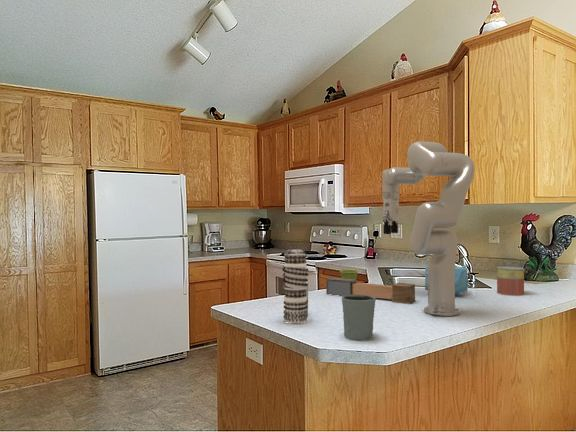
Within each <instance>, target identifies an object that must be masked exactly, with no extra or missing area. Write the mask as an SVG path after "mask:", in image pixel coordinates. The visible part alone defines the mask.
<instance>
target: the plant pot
mask: <svg viewBox="0 0 576 432" xmlns="http://www.w3.org/2000/svg"><path fill="white" fill-rule="evenodd" d="M339 273H340V276H341V277H340V278H347V279H357V276H358V273H359V270H357V269H342V270H341V269H340V270H339Z"/></svg>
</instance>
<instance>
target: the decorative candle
mask: <svg viewBox="0 0 576 432" xmlns="http://www.w3.org/2000/svg"><path fill="white" fill-rule="evenodd" d="M283 255H284V262H283V264H284V265H283V266H282V267H283V268H282V270H281V271H282V272H283V273H282V277H283V278H282V282H283V284H282V286H283V289H284V297H283V298H284V301H283V309H284V310H283V316H282V317H283V322H284V321H285V322H288V323H304V324H306V323H308V318H309V316H308V315H309V310H308V311H307V310H306V308H308V309H309V305H308V306H307V305H306V304H307V303H308V304H309V300H308V301H307V296H306V289H307V286H308V287H309V283H308V281H309V279H308V278H307V277H308V276H309V273H308V271H309V268H307V253H305V250H303V249H299V248H298V249H297V248H296V249H295V248H294V249H288V250H286V251H285V253H284V254H283ZM306 282H307V283H308V284H307V283H306ZM307 313H308V315H307ZM285 322H284V323H285ZM305 322H306V323H305ZM288 323H287V324H288Z"/></svg>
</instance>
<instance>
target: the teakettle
mask: <svg viewBox="0 0 576 432" xmlns="http://www.w3.org/2000/svg"><path fill="white" fill-rule="evenodd" d="M428 264H429V263H426V266H425V267H424V273H425V274H424V275H425V276H424V283H425V284H424V286H425V287H424V288H425V289H424V290H425V291H427V292H428ZM468 266H469V265H466V264H465V265H462V266H455V297H462V294H461V293H468V288H469V287H468V268H467V267H468Z"/></svg>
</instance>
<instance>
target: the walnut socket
mask: <svg viewBox="0 0 576 432" xmlns="http://www.w3.org/2000/svg"><path fill="white" fill-rule="evenodd" d="M391 286H392V299H391V300H392V303H397V304H405V305H412V304H413V303H414V302H416V284H415V283H406V282H405V283H404V282H403V283H402V282H397V283H395V284H392V285H391Z"/></svg>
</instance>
